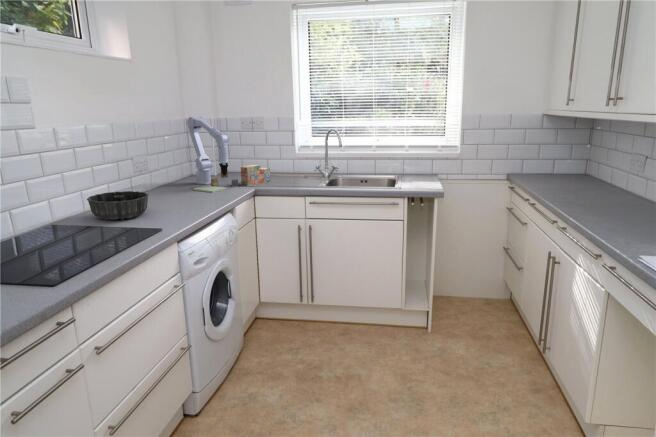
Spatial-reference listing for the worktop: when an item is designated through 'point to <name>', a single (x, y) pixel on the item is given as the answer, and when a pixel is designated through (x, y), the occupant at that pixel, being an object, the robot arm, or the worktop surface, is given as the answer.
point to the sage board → (209, 188)
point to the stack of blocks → (254, 174)
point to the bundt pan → (118, 204)
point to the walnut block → (224, 175)
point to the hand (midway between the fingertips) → (224, 174)
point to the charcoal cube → (234, 182)
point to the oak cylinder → (214, 182)
